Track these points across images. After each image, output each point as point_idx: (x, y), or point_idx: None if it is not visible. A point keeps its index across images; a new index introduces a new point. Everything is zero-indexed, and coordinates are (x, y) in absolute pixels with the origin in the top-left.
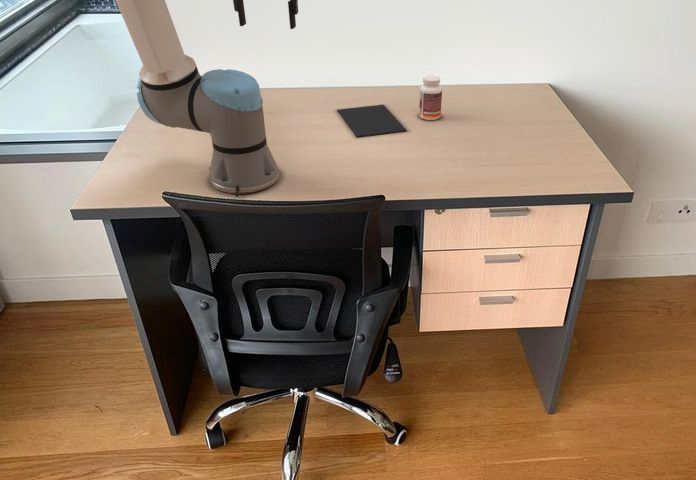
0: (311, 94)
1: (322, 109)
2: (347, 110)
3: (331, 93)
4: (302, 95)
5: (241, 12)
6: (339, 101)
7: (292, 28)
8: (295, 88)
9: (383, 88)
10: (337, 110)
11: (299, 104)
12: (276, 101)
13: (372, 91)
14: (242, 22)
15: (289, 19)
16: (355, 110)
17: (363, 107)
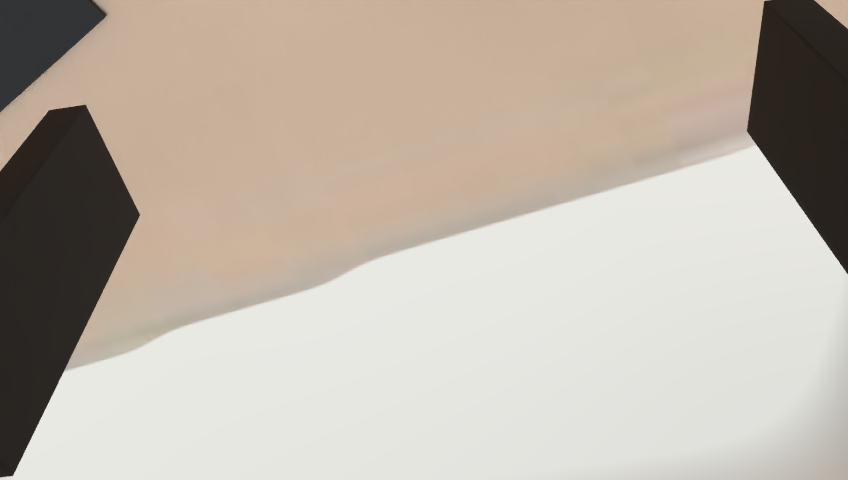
0: (368, 181)
1: (196, 8)
2: (46, 24)
3: (282, 221)
4: (405, 155)
5: (842, 109)
6: (184, 142)
7: (54, 113)
8: (482, 225)
9: (103, 336)
10: (105, 14)
11: (357, 34)
12: (501, 33)
13: (123, 295)
14: (781, 33)
15: (35, 167)
16: (8, 39)
17: (2, 92)
